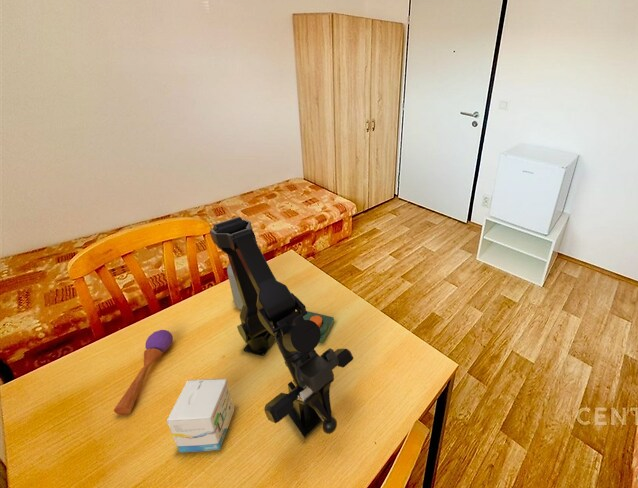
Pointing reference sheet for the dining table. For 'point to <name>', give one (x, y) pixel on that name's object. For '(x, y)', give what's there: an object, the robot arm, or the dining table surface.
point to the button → (317, 320)
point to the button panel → (326, 323)
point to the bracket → (303, 416)
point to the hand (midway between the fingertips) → (329, 420)
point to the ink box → (201, 415)
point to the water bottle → (234, 288)
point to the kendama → (145, 368)
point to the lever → (328, 424)
